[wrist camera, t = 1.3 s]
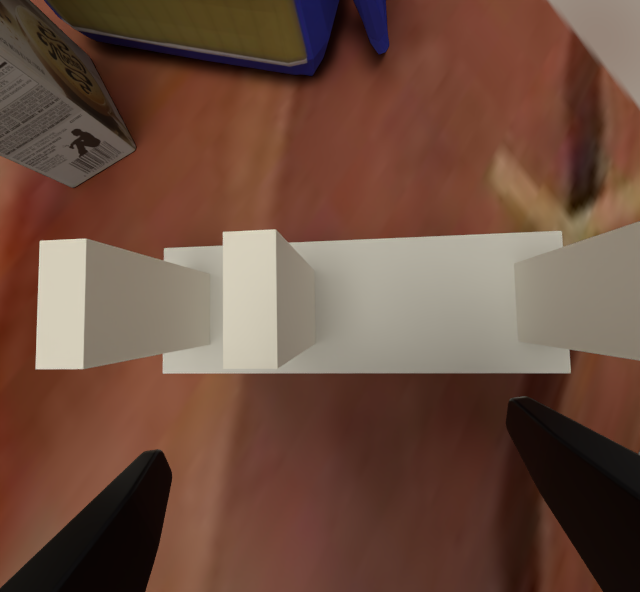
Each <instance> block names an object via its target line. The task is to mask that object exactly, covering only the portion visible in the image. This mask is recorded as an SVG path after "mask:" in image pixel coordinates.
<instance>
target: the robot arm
mask: <svg viewBox="0 0 640 592" xmlns="http://www.w3.org/2000/svg"><path fill="white" fill-rule="evenodd" d="M506 427H507V430H508V432H509V434H510V436H511V438H512V440H513V442H514V444H515V446H516V448H517V450H518V452H519V454H520V456H521V458H522V460H523V462H524V464H525V465H526V467H527V469H528V471H529V473H530V475H531V477H532V479H533V481H534V483H535V485H536V486H537V488H538V490H539V492H540V493H541V495H542V497H543V498H544V500H545V502H546V503H547V505H548V506H549V508H550V509H551V511H552V513H553V514H554V516H555V517H556V519H557V520H558V522H559V523H560V525H561V527H562V528H563V530H564V531H565V533H566V534H567V536H568V538H569V539H570V541H571V542H572V544H573V545H574V547H575V548H576V550H577V552H578V553H579V555H580V556H581V558H582V559H583V561H584V563H585V564H586V566H587V567H588V569H589V570H590V572H591V573H592V575H593V577H594V578H595V580H596V581H597V583H598V584H599V586H600V588H601V589H602V591H603V592H640V455H639V454H637V453H635V452H633V451H631V450H629V449H627V448H625V447H623V446H621V445H619V444H618V443H616V442H614V441H612V440H610V439H608V438H606V437H604V436H602V435H600V434H598V433H596V432H595V431H593V430H591V429H589V428H587V427H585V426H583V425H581V424H579V423H577V422H575V421H574V420H572V419H570V418H568V417H566V416H564V415H562V414H560V413H558V412H556V411H554V410H552V409H551V408H549V407H547V406H545V405H543V404H541V403H539V402H537V401H535V400H533V399H531V398H529V397H526V396H523V397H516V398H511V399H510V400H509V403H508V409H507V417H506ZM171 482H172V472H171V469H170V466H169V464H168V462H167V460H166V458H165V455H164V453H163V451H161V450H159V449H157V450H150V451H145V452H143V453H142V454H141V455H140V456H138V457H137V458H136V459H135V460H134V461H133V462H132V463H131V464H130V465H129V466H128V467H127V468H126V469H125V470H124V471H123V472H122V473H121V474H120V475H119V476H117V477H116V478H115V479H114V480H113V481H112V482H111V483H110V484H109V485H108V486H107V487H106V488H105V489H104V490H103V491H102V492H101V493H100V494H99V495H98V496H97V497H95V498H94V499H93V500H92V501H91V502H90V503H89V504H88V505H87V506H86V507H85V508H84V509H83V510H82V511H81V512H80V513H79V514H78V515H77V516H76V517H74V518H73V519H72V520H71V521H70V522H69V523H68V524H67V525H66V526H65V527H64V528H63V529H62V530H61V531H60V532H59V533H58V534H57V535H56V536H55V537H54V538H52V539H51V540H50V541H49V542H48V543H47V544H46V545H45V546H44V547H43V548H42V549H41V550H40V551H39V552H38V553H37V554H36V555H35V556H34V557H33V558H31V559H30V560H29V561H28V562H27V563H26V564H25V565H24V566H23V567H22V568H21V569H20V570H19V571H18V572H17V573H16V574H15V575H14V576H13V577H12V578H10V579H9V580H8V581H7V582H6V583H5V584H4V585H3V586H2V587H1V588H0V592H145V591H146V587H147V584H148V581H149V577H150V574H151V571H152V567H153V564H154V561H155V557H156V553H157V550H158V546H159V542H160V537H161V533H162V528H163V523H164V518H165V512H166V507H167V502H168V497H169V492H170V487H171Z"/></svg>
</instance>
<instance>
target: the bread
mask: <svg viewBox="0 0 640 592" xmlns="http://www.w3.org/2000/svg"><path fill="white" fill-rule="evenodd" d="M44 1H45V2H46V3H47V4H48V6H49V7H50V8H51V9H52V10H53V11H54V12H55V14H56V15H57V16H58V17H59V18H60V19H62V20H63V21H64V22H66V23H67V24H69V25H70V26H71V27H73V28H74V29H75V30H77V31H79V32H81V33H82V34H84V35H86V36H87V37H89V38H91V39H93V40H95V41H98V42H104V43H110V44H115V45H121V46H127V47H132V48H138V49H144V50H149V51H155V52H160V53H166V54H172V55H177V56H183V57H189V58H194V59H200V60H206V61H213V62H219V63H225V64H231V65H237V66H243V67H250V68H256V69H262V70H268V71H274V72H280V73H286V74H292V75H301V74H302V75H308V76H313V74H314V73H315V71H316V69H317V68H318V66H319V64H320V63H321V61H322V59H323V58H324V55H325V51H326V48H327V44H328V41H329V38H330V34H331V30H332V26H333V22H334V19H335V15H336V11H337V7H338V3H339V0H44ZM353 1H354V3H355V5H356V8H357V10H358V12H359V14H360V16H361V19H362V21H363V24H364V27H365V29H366V32H367V35H368V38H369V41H370V43H371V44H372V46H373V47H374V49H375V50H376V51H377V53H378V54H382V53H385V52H386V51H387V49H388V47H389V39H388V31H387V15H386V0H353Z"/></svg>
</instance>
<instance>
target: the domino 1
mask: <svg viewBox="0 0 640 592" xmlns="http://www.w3.org/2000/svg"><path fill="white" fill-rule="evenodd" d="M205 345H210V274H208V273H205V272H201V271H198V270H194V269H191V268H187V267H184V266H180V265H177V264H173V263H170V262H166V261H163V260H159V259H156V258H152V257H149V256H145V255H142V254H138V253H135V252H131V251H128V250H124V249H121V248H117V247H114V246H110V245H107V244H103V243H100V242H96V241H93V240H89V239H68V240H48V241H40V252H39V282H38V312H37V342H36V369H86V368H91V367H97V366H102V365H107V364H112V363H117V362H122V361H128V360H133V359H138V358H143V357H148V356H154V355H159V354H164V353H169V352H174V351H179V350H185V349H190V348H195V347H200V346H205Z"/></svg>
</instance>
